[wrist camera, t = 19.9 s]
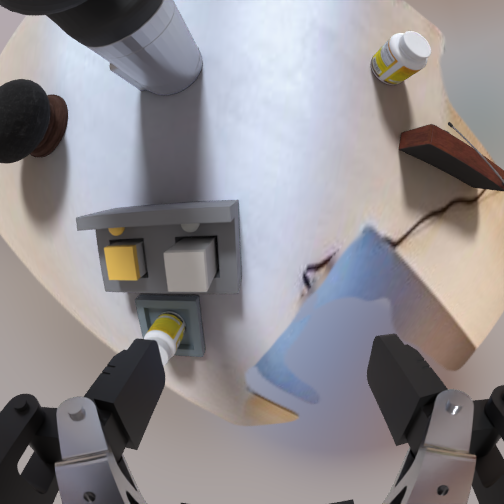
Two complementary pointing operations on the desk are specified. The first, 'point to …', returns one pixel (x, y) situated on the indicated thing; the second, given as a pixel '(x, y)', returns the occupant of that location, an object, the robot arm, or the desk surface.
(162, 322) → the supplement bottle
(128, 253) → the block
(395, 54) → the supplement bottle
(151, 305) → the square tray
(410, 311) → the desk surface
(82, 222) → the box
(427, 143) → the radio
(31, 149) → the spherical smart speaker
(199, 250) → the block
